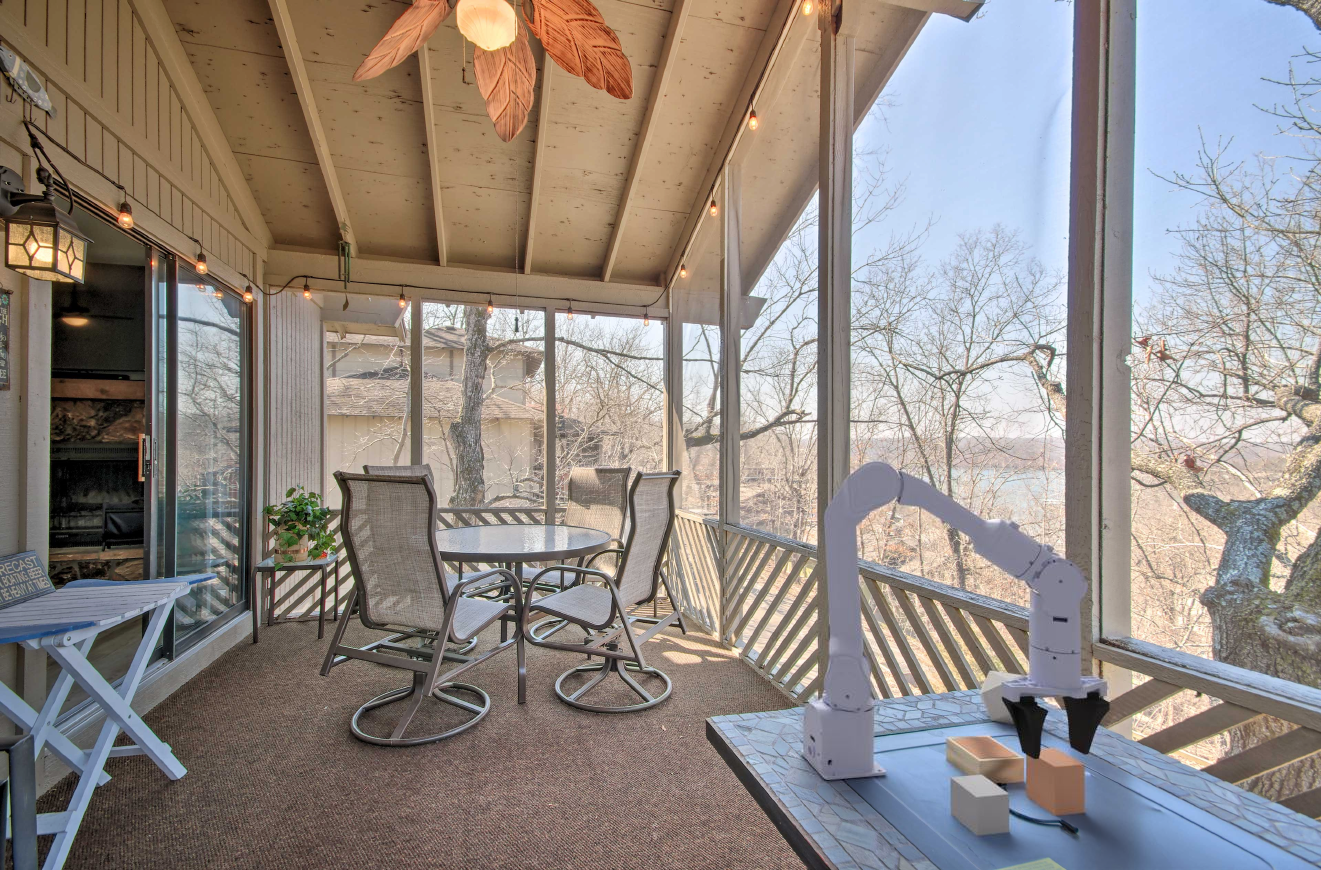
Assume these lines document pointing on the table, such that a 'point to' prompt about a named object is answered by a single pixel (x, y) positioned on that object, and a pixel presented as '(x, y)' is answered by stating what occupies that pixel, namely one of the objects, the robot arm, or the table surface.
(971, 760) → the maple base
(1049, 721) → the table surface
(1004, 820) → the grey block
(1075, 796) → the terracotta block
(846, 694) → the robot arm
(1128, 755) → the table surface
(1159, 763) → the table surface
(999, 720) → the die
